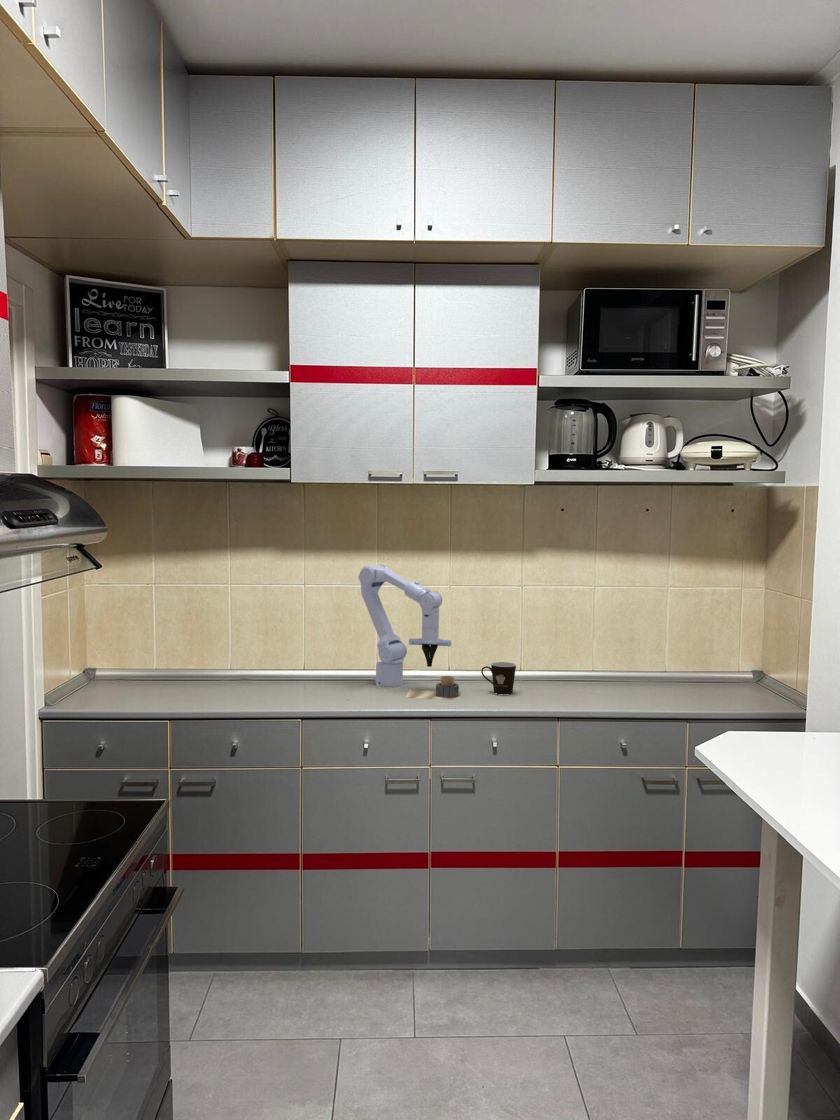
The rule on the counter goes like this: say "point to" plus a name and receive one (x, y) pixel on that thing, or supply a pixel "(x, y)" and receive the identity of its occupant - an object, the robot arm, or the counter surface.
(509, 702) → the counter surface
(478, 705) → the counter surface
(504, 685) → the coffee mug
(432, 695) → the board
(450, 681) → the plug
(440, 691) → the sleeve
